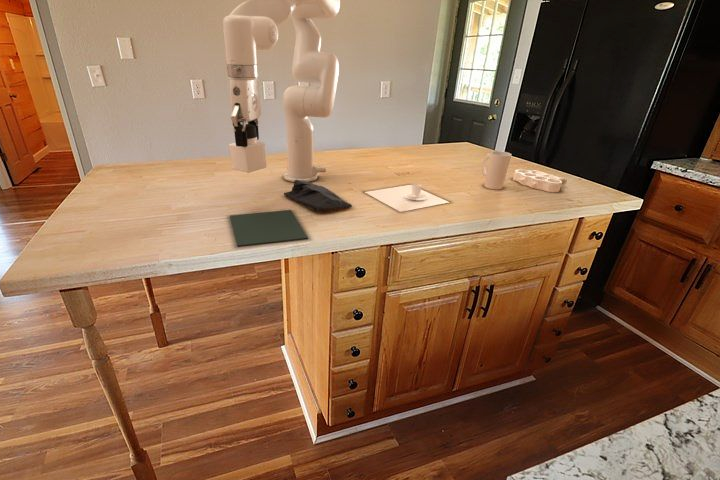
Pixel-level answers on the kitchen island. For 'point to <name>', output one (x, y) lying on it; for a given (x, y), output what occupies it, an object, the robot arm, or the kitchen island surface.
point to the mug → (496, 169)
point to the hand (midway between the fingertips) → (247, 142)
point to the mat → (266, 228)
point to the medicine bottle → (248, 153)
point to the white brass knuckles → (539, 180)
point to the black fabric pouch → (315, 197)
